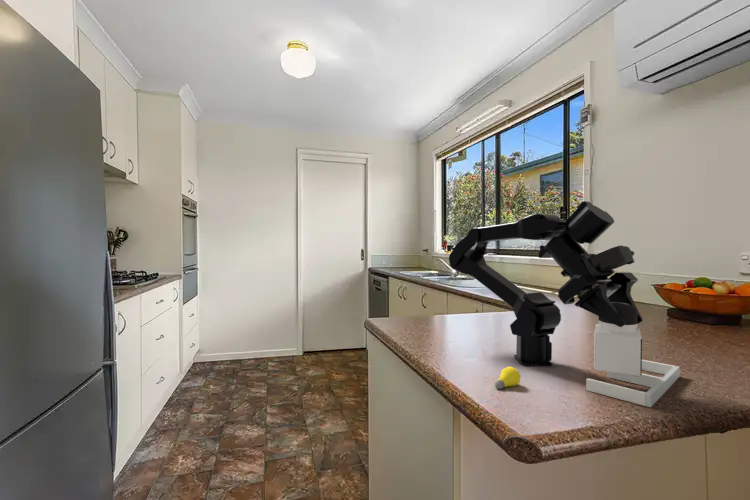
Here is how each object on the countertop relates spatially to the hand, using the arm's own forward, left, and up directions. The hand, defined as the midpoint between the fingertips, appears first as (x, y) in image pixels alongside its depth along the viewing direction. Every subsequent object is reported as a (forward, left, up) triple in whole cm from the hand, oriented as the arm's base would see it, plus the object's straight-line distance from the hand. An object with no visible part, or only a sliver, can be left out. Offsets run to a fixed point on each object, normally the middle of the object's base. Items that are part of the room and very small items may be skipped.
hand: (632, 323), depth 67 cm
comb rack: (+3, +5, -12) cm, 13 cm away
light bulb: (-22, +1, -13) cm, 25 cm away
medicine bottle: (-1, +2, -9) cm, 9 cm away
